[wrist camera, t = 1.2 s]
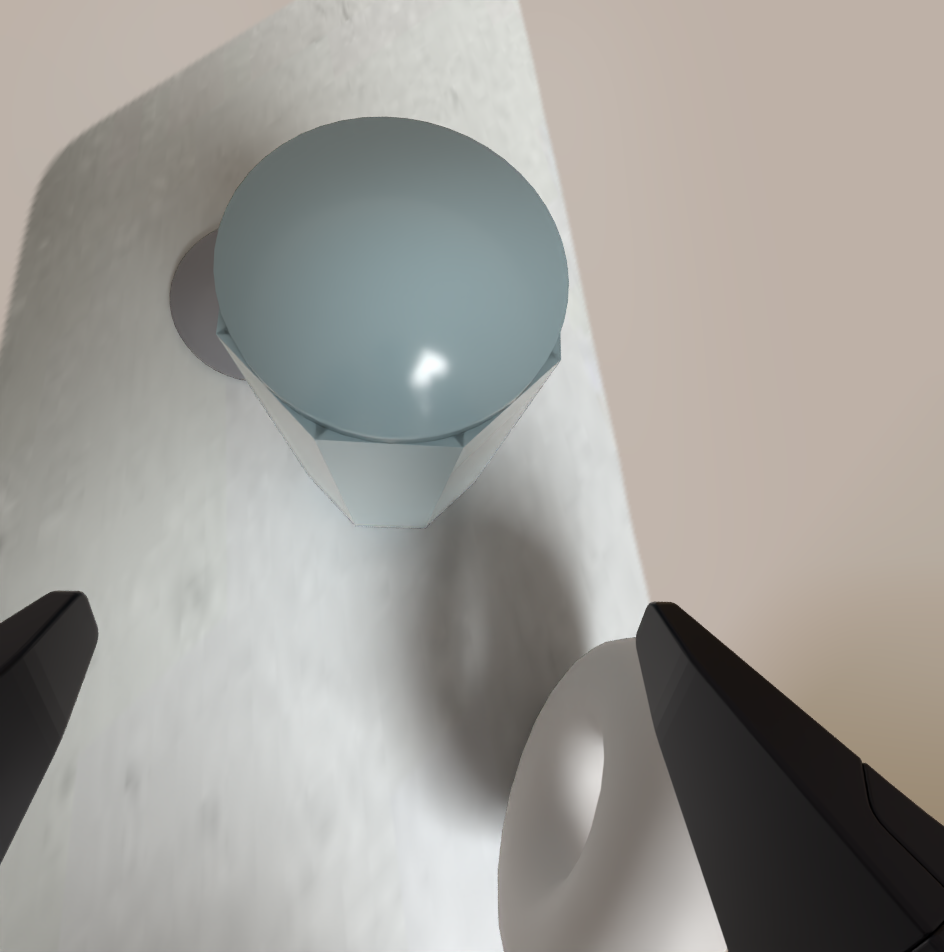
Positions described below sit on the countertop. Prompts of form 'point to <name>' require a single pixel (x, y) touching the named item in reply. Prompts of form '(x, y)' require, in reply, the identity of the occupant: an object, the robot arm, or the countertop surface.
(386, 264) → the dome-topped hexagonal post
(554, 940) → the donut
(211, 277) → the slate coaster
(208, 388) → the countertop surface
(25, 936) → the countertop surface
